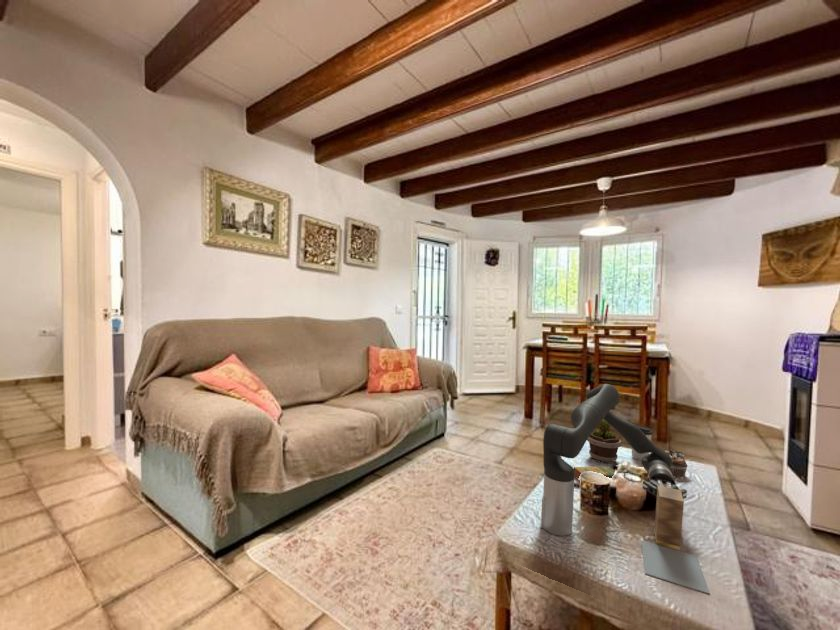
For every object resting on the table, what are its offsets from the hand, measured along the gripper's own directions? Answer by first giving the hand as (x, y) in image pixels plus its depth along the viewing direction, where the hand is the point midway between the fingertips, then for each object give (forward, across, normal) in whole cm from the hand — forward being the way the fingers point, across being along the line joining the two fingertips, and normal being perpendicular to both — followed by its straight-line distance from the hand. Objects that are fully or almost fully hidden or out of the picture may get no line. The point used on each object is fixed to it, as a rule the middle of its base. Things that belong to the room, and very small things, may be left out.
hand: (667, 501), depth 115 cm
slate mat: (+14, 0, +12) cm, 18 cm away
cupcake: (-58, +9, +12) cm, 59 cm away
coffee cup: (-70, -3, +12) cm, 72 cm away
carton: (-33, -21, +12) cm, 41 cm away
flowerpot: (-58, -19, +12) cm, 62 cm away
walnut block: (+2, 0, +12) cm, 12 cm away
